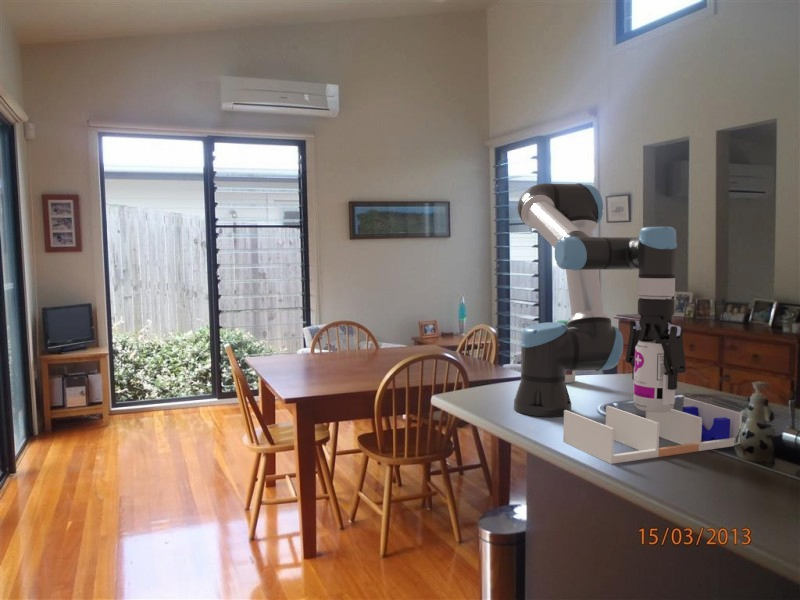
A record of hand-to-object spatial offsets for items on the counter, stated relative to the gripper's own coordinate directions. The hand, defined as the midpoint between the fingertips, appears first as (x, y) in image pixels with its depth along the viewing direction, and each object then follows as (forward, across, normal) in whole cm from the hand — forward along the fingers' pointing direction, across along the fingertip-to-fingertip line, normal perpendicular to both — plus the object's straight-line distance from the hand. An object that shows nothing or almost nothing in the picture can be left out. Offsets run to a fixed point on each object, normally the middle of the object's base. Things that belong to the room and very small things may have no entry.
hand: (653, 399), depth 142 cm
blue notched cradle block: (+10, 0, -14) cm, 18 cm away
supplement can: (+2, 0, 0) cm, 2 cm away
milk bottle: (+9, +64, -22) cm, 69 cm away
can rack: (+10, 0, 0) cm, 10 cm away
